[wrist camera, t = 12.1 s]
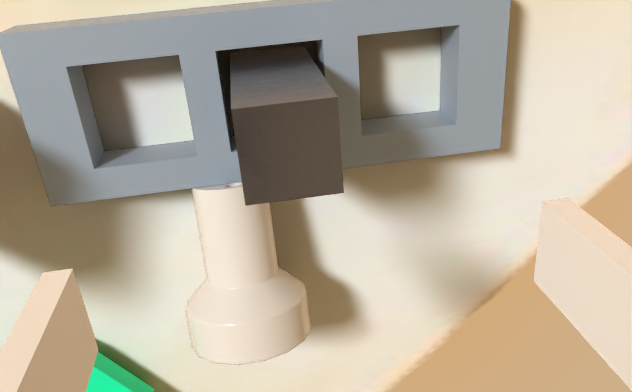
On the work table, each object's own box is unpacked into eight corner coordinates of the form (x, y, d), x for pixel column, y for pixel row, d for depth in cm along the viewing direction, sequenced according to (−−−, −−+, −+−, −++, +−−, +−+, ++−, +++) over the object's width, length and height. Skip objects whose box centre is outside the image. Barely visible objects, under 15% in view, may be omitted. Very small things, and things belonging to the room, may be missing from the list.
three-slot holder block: (64, 185, 36) (50, 206, 33) (15, 26, 31) (-5, 34, 29) (481, 133, 38) (500, 148, 36) (489, -22, 34) (511, -18, 31)
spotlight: (187, 328, 40) (200, 386, 33) (160, 176, 38) (167, 202, 30) (293, 303, 43) (328, 352, 35) (275, 158, 40) (308, 177, 32)
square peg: (240, 123, 36) (245, 205, 25) (230, 53, 34) (230, 109, 23) (309, 115, 36) (343, 192, 25) (303, 45, 34) (337, 96, 23)
